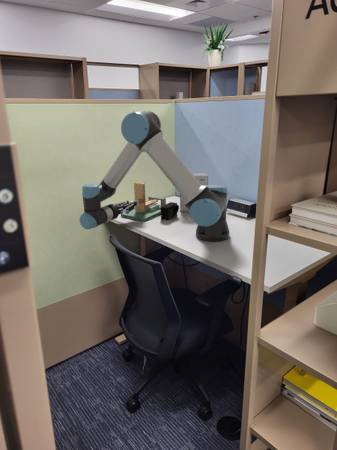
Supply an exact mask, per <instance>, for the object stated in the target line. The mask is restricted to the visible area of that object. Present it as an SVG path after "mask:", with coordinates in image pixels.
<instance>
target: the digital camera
mask: <svg viewBox="0 0 337 450" xmlns="http://www.w3.org/2000/svg"><path fill="white" fill-rule="evenodd" d="M179 211H180V204H178V203H177V202H174V201H173V202H171V201H169V202H168V203H166V205H164V206H162V207H161V214H160V220H162V221H167V222H168V221H169V220H172V219H173V218H175V217H177V216H178V212H179Z"/></svg>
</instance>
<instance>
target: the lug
mask: <svg viewBox="0 0 337 450" xmlns="http://www.w3.org/2000/svg"><path fill="white" fill-rule="evenodd" d="M152 199H153V200H158V201H160V205H161V207H162V206H164V205H166V204H167V199H166V197H162V196H161V197H160V196H155V195H149V196H148V201H150V200H152Z"/></svg>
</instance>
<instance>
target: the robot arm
mask: <svg viewBox="0 0 337 450" xmlns="http://www.w3.org/2000/svg"><path fill="white" fill-rule="evenodd" d="M120 125H121V127H120V130H121V134H122V137H123V138H124V140H125V141H126V142H127V143H126V144H125V146H124V147H123V149H122V150H121V152H120V153H119V155H118V156H117V158H116V159H115V161H114V162H113V164H112V166H111V167H110V168H109V170H108V171H107V173H106V174H105V176H104V177H103V178H102V180H101V181H100V183H99V184H97V183H88V184H84V185H83V186H82V188H81V190H82V193H81V195H82V202H83V213H82V214H80V216H79V223H80V226H81V227H82V228H83V229H84V230H91V229H93V228H94V229H95V228H96V227H99V226H101V225H103V224H106V223H108V222H110V221H114V220H115V219H118V218H119V216H120V215H121V214H122V213H126V214H129V212H130V211H132V210H133V209H135V206H137V205H139V199H136V200H135V199H133V200H131V201H129V200H126V202H125V201H121V202H118V203H110V204H107V205H103V206H101V205H102V204H101V203H103V201H106V200H107V199H109V198H111V197H113V196H114V195H115V194H116V191H117V188H118V186H119V185H120V184H121V182H122V181H123V180H124V178H125V177H126V175H127V174H128V173H129V171H130V169H131V168H132V167H133V166H134V164H135V163H136V161H138V158H139V157H140V156H141V154H142V153H146V154H147V155H148V156H149V158H151V160H152V161H153V162H154V163H155V165H156V166H157V167H158V168H159V169H160V171H161V172H162V173H163V174H164V176H165V177H166V178H167V179H168V180H169V181H170V183H171V184H172V185H173V186H174V187H175V189H176V190H177V191H178V193H179V195H180V194H181V195H182V196H183V197H184V199H185V201H184V204H185V206H186V207H187V208H188V209H189V211H188V212H189V216H190V219H191V221H192V222H193V223H195V224H196V225H197V226H196V229H195V236H196V238H197V239H199V240H202V241H206V242H221V241H225V240H228V239H229V237H230V228H229V225H228V222H227V209H228V208H227V204H228V203H227V202H228V194H229V193H228V188H227V186H224V185H216V184H215V185H213V184H208V185H201V184H200V183H199V182H198V181H197V179H196V178H195V177H194V176H193V174H194V173H192V172H191V171H190V169H189V168H188V167H187V166H186V165H185V164H184V162H183V161H182V160H181V159H180V158H179V156H178V155H177V154H176V153H175V151H174V150H173V149H172V148H171V147H170V145H169V143H167V141H166V140H165V139H164V132H163V130H162V129H161V127H162V123H161V119H160V117H159V116H158V114H156V113H155V112H153V111H151V110H142V111H139V110H135V111H132V112H130V113H127V114H126V115H125V117H124V118H123V119H122V122H121V124H120Z"/></svg>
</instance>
